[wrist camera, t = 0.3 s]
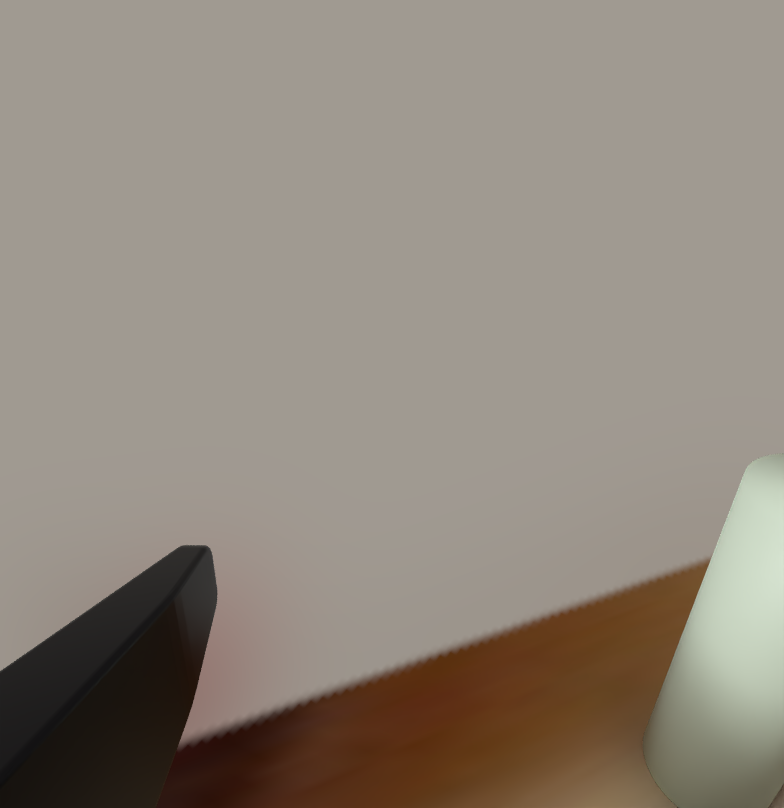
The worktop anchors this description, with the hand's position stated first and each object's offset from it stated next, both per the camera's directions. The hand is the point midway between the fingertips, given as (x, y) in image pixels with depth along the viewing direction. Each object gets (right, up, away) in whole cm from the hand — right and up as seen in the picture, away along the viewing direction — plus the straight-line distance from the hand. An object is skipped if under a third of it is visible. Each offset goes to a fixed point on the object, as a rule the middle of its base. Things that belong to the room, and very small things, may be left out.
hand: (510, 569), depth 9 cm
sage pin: (+10, -11, +14) cm, 20 cm away
